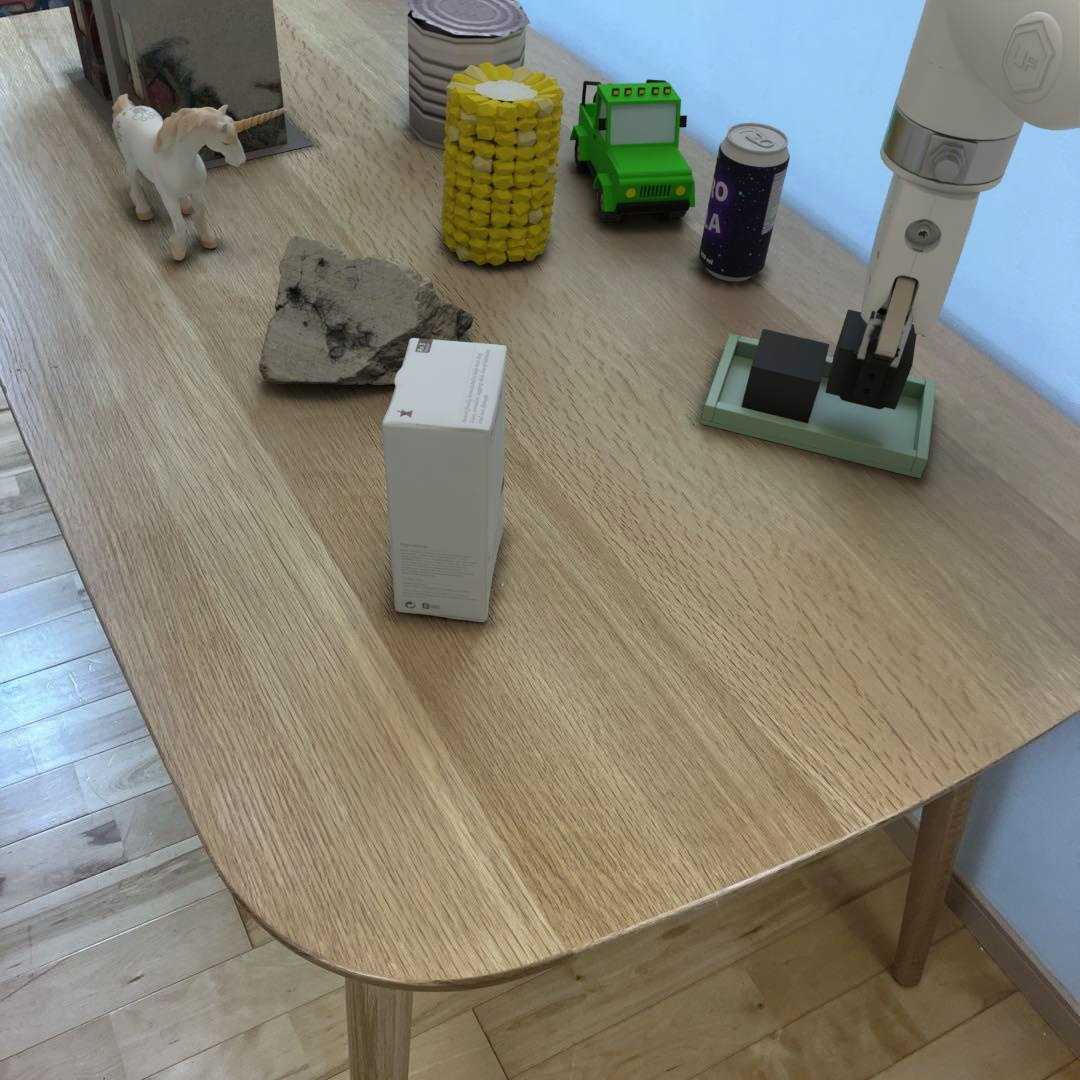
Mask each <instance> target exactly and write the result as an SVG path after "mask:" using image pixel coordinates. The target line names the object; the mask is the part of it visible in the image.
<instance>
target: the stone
mask: <svg viewBox="0 0 1080 1080" xmlns="http://www.w3.org/2000/svg"><path fill="white" fill-rule="evenodd" d="M285 246H286V247H285V251H284V255H283V257H282V259H281V260H280V262H279V264H278V267H277V268H278V271H279V275H280V278H279V282H278V289H277V296H276V300H275V301H274V302H275V303H274V309H275V312H274V313H273V315H272V316H271V318H270V319H269V321H268V323H267V329H266V333H265V337H264V341H263V345H262V348H261V351H260V360H259V363H258V368H259V369H258V371H259V373H260V375H261V376H262V379H263V381H266V382H267V383H269V384H283V385H285V384H303V385H305V384H306V385H307V384H325V385H336V386H350V385H352V386H353V385H359V386H360V385H361V386H362V385H363V386H364V385H373V386H389V385H395V376H396V374H397V372H398V371H399V370H400V369H401V368H402V365H403V362H404V358H405V355H406V351H407V347H408V344H409V340H410V339H412V338H418V339H432V340H446V341H459V342H460V338H462V337H463V336H464V334H465V333H466V332H467V331H469V330H470V329H471V328H472V326H473V323H474V320H475V314H474V313H472V312H469V311H466V310H464V308H462V307H461V306H459V305H457V304H454V303H453V302H450V301H448V300H445V299H443V298H441V297H440V296H439V295H438V294H437V292H436V289H434V282H433V281H432V280H431V278H429V277H424V278H422V277H421V276H420V275H419V272H418V271H416V270H415V269H413V268H411V267H407V266H405V265H402V264H400V263H398V262H395V261H392V260H389V259H387V258H378V257H375V256H369V255H367V256H366V257H365V258H364V259H363V258H361V257H359V256H358V257H352V258H351V257H350V258H347V255H346V254H344V252H343V251H342V250H341V249H339V248H337V247H336V246H334V245H332V244H329V243H327V242H325V241H323V240H317V239H313V238H309V237H307V236H301V235H293V236H292V237H291V238H289V240H288V242H287V244H286V245H285Z"/></svg>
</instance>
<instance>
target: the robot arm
mask: <svg viewBox="0 0 1080 1080" xmlns="http://www.w3.org/2000/svg"><path fill="white" fill-rule="evenodd" d="M1025 123H1026V124H1028V125H1030V126H1033V127H1035V128H1038V129H1042V130H1047V131H1067V130H1068V131H1069V130H1075V129H1080V0H925V2H924V6H923V9H922V12H921V16H920V19H919V21H918V26H917V29H916V32H915V35H914V38H913V41H912V45H911V48H910V50H909V54H908V58H907V61H906V65H905V67H904V71H903V75H902V78H901V81H900V84H899V88H898V91H897V95H896V97H895V99H894V104H893V107H892V111H891V113H890V117H889V121H888V124H887V127H886V130H885V133H884V137H883V140H882V143H881V145H880V150H879V155H880V160H881V161H882V162H883V164H884V165H885V166H886V167H887V169H889V170H890V171H891V172H893V173H892V177H891V180H890V183H889V186H888V189H887V193H886V196H885V199H884V203H883V206H882V209H881V213H880V216H879V220H878V224H877V228H876V231H875V235H874V240H873V243H872V247H871V252H870V256H869V262H868V266H867V272H866V279H865V284H864V290H863V291H864V292H863V298H862V305H861V311H860V312H861V317H862V318H863V320H864V321H865V322H866V323H867V324H866V328H865V331H864V334H863V337H862V340H861V344H860V347H859V350H855V349H854V352H853V355H852V358H851V361H850V364H849V367H848V370H847V373H846V376H845V379H844V382H843V385H842V388H841V392H840V399H841V400H843V401H847V402H851V403H855V404H859V405H863V406H867V407H871V408H875V409H883V408H884V407H885V405H886V403H887V400H888V397H889V395H890V392H891V389H892V387H893V384H894V381H895V379H896V376H897V373H898V370H899V368H900V365H901V360H900V359H901V356H902V353H903V350H904V347H905V344H906V341H907V338H908V334H909V331H910V330H911V325H912V324H914V330H915V334H917V335H920V336H922V337H923V338H928V337H930V336H932V335H933V334H934V333H935V331H936V328H937V325H938V322H939V319H940V317H941V313H942V309H943V307H944V304H945V301H946V298H947V296H948V293H949V289H950V287H951V285H952V281H953V278H954V276H955V273H956V270H957V268H958V264H959V262H960V258H961V255H962V253H963V249H964V247H965V244H966V241H967V238H968V235H969V232H970V230H971V229H970V228H971V226H972V222H973V219H974V216H975V213H976V209H977V205H978V202H979V199H980V195H981V193H983V192H987V191H990V190H992V189H994V188H996V187H997V186H998V185H1000V183H1001V182H1002V180H1003V178H1004V175H1005V174H1006V171H1007V168H1008V165H1009V163H1010V161H1011V158H1012V155H1013V152H1014V150H1015V147H1016V145H1017V143H1018V140H1019V138H1020V135H1021V132H1022V130H1023V127H1024V125H1025ZM875 326H876V327H881V331H880V334H879V337H878V338H873V339H872V341H871V338H872V335H873V332H874V328H875ZM870 341H871V342H870Z"/></svg>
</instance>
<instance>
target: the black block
mask: <svg viewBox="0 0 1080 1080" xmlns="http://www.w3.org/2000/svg"><path fill="white" fill-rule="evenodd" d="M760 333H761V334H760V337H759V339H758V340H759V343H758V346H757V350H756V353H755V356H754V359H753V362H752V366H751V370H750V374H749V378H748V382H747V386H746V390H745V394H744V398H743V402H742V406H741V407H742V408H746V409H750V410H755V411H759V412H763V413H767V414H771V415H775V416H779V417H783V418H787V419H791V420H795V421H799V422H803V423H807V424H808V422H809V419H810V416H811V412H812V409H813V406H814V402H815V399H816V396H817V393H818V389H819V386H820V383H821V379H822V374H823V370H824V366H825V361H826V357H827V356H828V353H829V349H830V343H828V342H822V341H818V340H814V339H809V338H805V337H802V336H801V337H800V336H797V335H792V334H788V333H783V332H780V331H775V330H770V329H766V328H762V330H761V332H760Z"/></svg>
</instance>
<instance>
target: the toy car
mask: <svg viewBox="0 0 1080 1080" xmlns="http://www.w3.org/2000/svg"><path fill="white" fill-rule="evenodd" d="M582 83H583V84H582V91H581V92H582V93H581V101H580V103H579V107H578V124H577V125H575V124H574V125H573V127H572V130H571V133H570V137H569V141H575V142H574V151H573V153H574V162H575V163H574V164H575V167H576V169H577V171H579V172H590V174H591V177H592V178H593V180H594V181H593V184H592V189H593V190H594V189H598V190H597V197H596V201H597V203H596V204H597V212H598V217H599V218H600V220H601V221H602V222H616V221H617V222H618V221H619V220H620V219H621V218H622V216H623V215H632V214H635V215H636V214H653V213H654V214H655V213H663V215H664V216H665V218H668V219H675V218H677V219H678V218H683V217H685V216H686V214H687V212H689V211H690V210H689V209H690V208H696V181H695V180H694V178H693V170H692V169H691V167H690V165H689V163H688V162H687V160H686V159H685V157H684V156H683V154H682V153H681V151H680V149H679V145H680V128H681V129H682V128H683V129H684V128H687V127H688V126H687V125H688V124H687V122H688V115H686V114H684V115H681V109H682V99H681V97H680V96H679V94H678V93H677V91H676V90H675V88H674V87H673V86H672V84H671V83H670V82H668V81H667V80H665V79H652V78H651V79H648V78H647V79H646V80H645V82H632V83H627V82H626V83H602V82H601V81H594V80H592V81H591V80H583V82H582ZM587 86H593V87H596V91H595V92H594V95H593V98H592V102H586V98H587V97H586V96H587Z"/></svg>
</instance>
